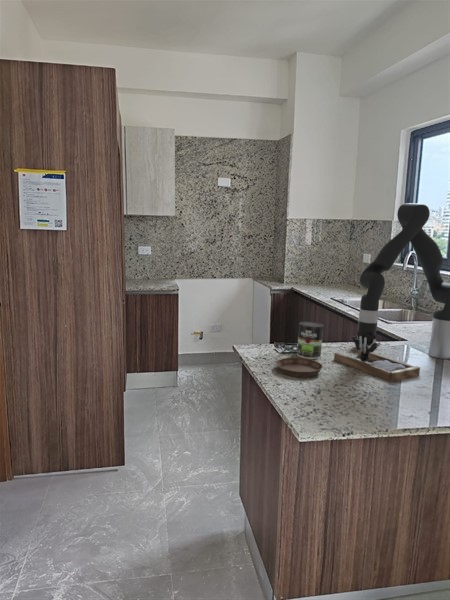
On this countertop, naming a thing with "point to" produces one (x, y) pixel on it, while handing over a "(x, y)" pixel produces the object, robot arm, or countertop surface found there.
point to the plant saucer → (299, 367)
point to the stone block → (388, 365)
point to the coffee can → (310, 340)
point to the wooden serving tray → (377, 371)
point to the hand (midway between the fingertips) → (363, 361)
